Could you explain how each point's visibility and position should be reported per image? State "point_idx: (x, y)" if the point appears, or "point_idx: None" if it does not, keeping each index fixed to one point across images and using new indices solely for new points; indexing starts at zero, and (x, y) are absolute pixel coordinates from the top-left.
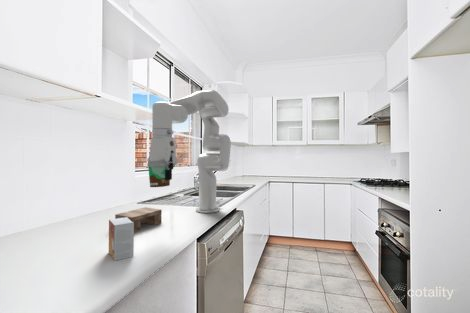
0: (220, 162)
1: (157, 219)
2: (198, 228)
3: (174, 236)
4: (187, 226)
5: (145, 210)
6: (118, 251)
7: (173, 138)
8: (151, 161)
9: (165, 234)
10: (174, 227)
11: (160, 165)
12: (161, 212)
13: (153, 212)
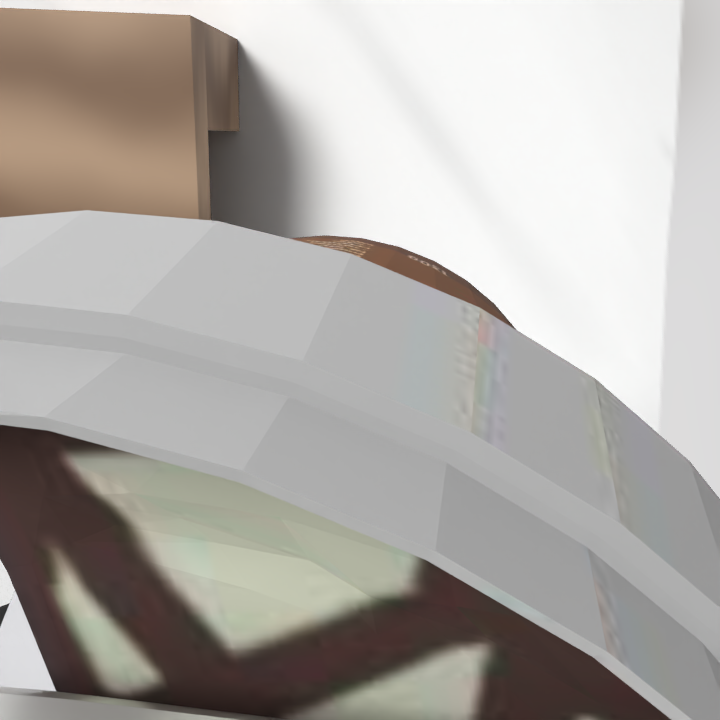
0: None
1: (224, 93)
2: (676, 25)
3: (575, 302)
4: (540, 19)
5: (79, 143)
6: None
7: None
8: None
9: (485, 293)
10: (442, 108)
11: None
12: (203, 22)
13: (199, 152)
